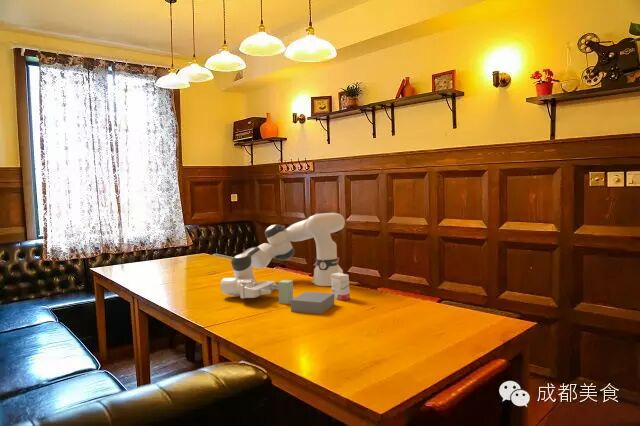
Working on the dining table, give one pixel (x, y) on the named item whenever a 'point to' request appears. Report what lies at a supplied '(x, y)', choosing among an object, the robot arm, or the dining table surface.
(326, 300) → the gray block
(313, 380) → the dining table surface
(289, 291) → the sage block
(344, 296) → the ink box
